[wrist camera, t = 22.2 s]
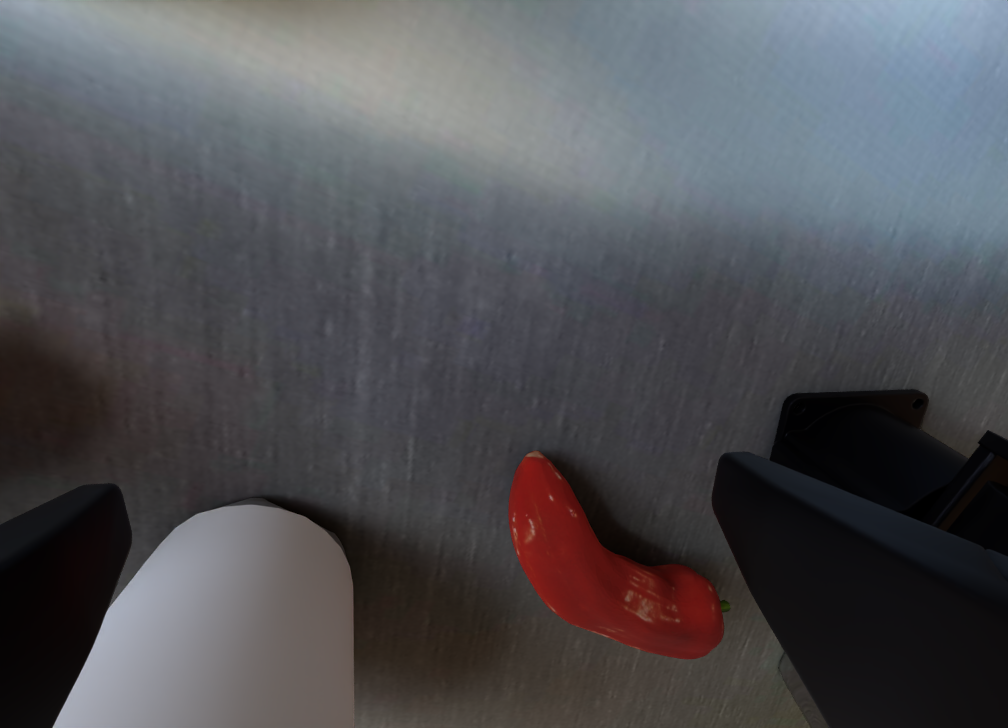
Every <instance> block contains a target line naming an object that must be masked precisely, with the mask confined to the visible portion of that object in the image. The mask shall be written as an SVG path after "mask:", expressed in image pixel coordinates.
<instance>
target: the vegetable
mask: <svg viewBox="0 0 1008 728" xmlns="http://www.w3.org/2000/svg"><path fill="white" fill-rule="evenodd" d="M509 526H510V532H511V537H512V541H513V545H514V548H515V551H516V554H517V556H518V559H519V561H520V564H521V566H522V568H523V570H524V572H525V573H526V575H527V577H528V579H529V580H530V582H531V584H532V585H533V587H534V589H535V590H536V592H537V593H538V595H539V596H540V597H541V599H542V600H543V602H544V603H545V604H546V605H547V606H548V607H549V609H551V610H552V611H553V612H554V613H556V614H557V615H558V616H560V617H561V618H562V619H564V620H565V621H567V622H568V623H570V624H572V625H575V626H577V627H580V628H583V629H586V630H589V631H592V632H594V633H597V634H600V635H603V636H605V637H608V638H611V639H613V640H616V641H619V642H621V643H623V644H626V645H628V646H631V647H634V648H637V649H640V650H643V651H646V652H650V653H655V654H659V655H664V656H668V657H674V658H680V659H696V658H700V657H703V656H705V655H707V654H708V653H709V652H710V651H711V650H712V649H714V648H715V647H716V646H717V645H718V644H719V643H720V642H721V640H722V638H723V634H724V622H723V615H722V612H727V611H729V610H730V605H729V602H727V601H725V600H722V601H720V600H719V596H718V594H717V592H716V590H715V588H714V586H713V585H712V583H711V582H710V581H709V580H708V579H706V578H705V577H703V576H701V575H699V574H697V573H696V572H695V571H694V570H692V569H691V568H689V567H687V566H684V565H680V564H666V565H659V566H650V567H649V566H645V565H642V564H639V563H637V562H635V561H633V560H631V559H630V558H627V557H625V556H622V555H618V554H614V553H613V552H611V551H609V550H607V549H606V548H605V547H603V546H602V545H601V544H600V542H599V541H598V539H597V537H596V535H595V533H594V532H593V530H592V528H591V526H590V524H589V522H588V519H587V517H586V515H585V513H584V511H583V509H582V507H581V505H580V504H579V502H578V500H577V498H576V496H575V494H574V492H573V490H572V489H571V487H570V485H569V483H568V482H567V481H566V479H565V478H564V477H563V475H562V474H561V473H560V472H559V471H558V470H557V468H556V467H555V466H554V465H553V464H552V462H551V461H550V460H548V459H547V458H546V457H545V456H544V455H543V454H542V453H541V452H540V451H532V452H530V453H528V454H526V456H525V457H524V459H523V460H522V462H521V463H520V465H519V466H518V468H517V469H516V472H515V475H514V479H513V483H512V487H511V491H510V497H509Z"/></svg>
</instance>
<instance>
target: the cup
mask: <svg viewBox="0 0 1008 728" xmlns="http://www.w3.org/2000/svg"><path fill="white" fill-rule="evenodd" d="M53 728H354V618H353V582H352V576H351V570H350V566H349V564H348V561H347V558H346V553H345V550H344V548H343V546H342V544H341V542H340V540H339V539H338V537H337V536H336V534H335V533H334V532H331V531H328V530H326V529H325V528H323V527H321V526H319V525H317V524H315V523H314V522H312V521H311V520H309V519H308V518H307V517H305V516H302V515H299V514H296V513H293V512H290V511H288V510H286V509H284V508H282V507H280V506H277V505H275V504H273V503H271V502H269V501H267V500H265V499H264V498H248V499H245V500H242V501H239V502H236V503H232V504H229V505H226V506H223V507H220V508H217V509H213V510H209V511H206V512H202V513H198V514H196V515H194V516H193V517H191V518H190V519H188V520H187V521H185V522H184V523H182V524H180V525H179V526H177V527H176V528H175V529H174V530H173V531H172V532H170V533H169V534H168V536H167V537H166V538H165V539H164V540H163V541H162V543H161V544H160V545H159V546H158V547H157V548H156V550H155V551H154V552H153V553H152V555H151V556H150V557H149V558H148V560H147V561H146V562H145V563H144V565H143V566H142V567H141V568H140V570H139V571H138V572H137V574H136V575H135V576H134V577H133V579H132V580H131V581H130V582H129V584H128V585H127V586H126V587H125V589H124V590H123V591H122V592H121V594H120V595H119V596H118V598H117V599H116V600H115V601H114V603H113V604H112V605H111V606H110V608H109V609H108V610H107V612H106V615H105V618H104V620H103V623H102V626H101V628H100V631H99V633H98V636H97V638H96V641H95V643H94V645H93V648H92V650H91V652H90V654H89V656H88V658H87V660H86V663H85V665H84V667H83V669H82V671H81V673H80V675H79V677H78V679H77V680H76V682H75V684H74V686H73V688H72V690H71V692H70V694H69V696H68V698H67V700H66V702H65V704H64V706H63V708H62V710H61V712H60V714H59V716H58V718H57V720H56V722H55V724H54V726H53Z"/></svg>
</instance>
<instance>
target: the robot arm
mask: <svg viewBox="0 0 1008 728" xmlns="http://www.w3.org/2000/svg"><path fill="white" fill-rule="evenodd" d="M915 400H916V401H915ZM914 401H915V402H914ZM913 402H914V403H913ZM928 402H929V399H928V396H927V395H926V394H924V393H922V392H920V391H918V390H914V389H911V390H882V391H853V392H824V393H796V394H792V395H790V396H789V397H787V398H786V400H785V401H784V403H783V406H782V411H781V415H780V420H779V424H778V428H777V433H776V437H775V441H774V445H773V447H772V452H771V456H770V460H767V459H765V458H762V457H760V456H757V455H755V454H752V453H750V452H728V453H724V454H723V455H722V456H721V457H720V459H719V461H718V466H717V471H716V476H715V481H714V487H713V492H712V507H713V510H714V513H715V515H716V518H717V520H718V522H719V524H720V526H721V529H722V531H723V533H724V535H725V538H726V540H727V542H728V544H729V546H730V549H731V551H732V553H733V555H734V557H735V560H736V562H737V564H738V566H739V569H740V571H741V573H742V575H743V577H744V580H745V582H746V584H747V586H748V588H749V590H750V592H751V594H752V595H753V597H754V599H755V601H756V603H757V605H758V606H759V608H760V610H761V612H762V613H763V615H764V617H765V618H766V620H767V622H768V624H769V625H770V627H771V629H772V630H773V632H774V634H775V636H776V637H777V639H778V641H779V642H780V644H781V646H782V648H783V649H784V651H785V653H786V654H787V656H788V658H789V660H790V661H791V663H792V665H793V666H794V668H795V670H796V672H797V673H798V675H799V677H800V679H801V680H802V682H803V684H804V685H805V687H806V689H807V691H808V692H809V694H810V696H811V697H812V699H813V701H814V703H815V704H816V706H817V708H818V709H819V711H820V713H821V715H822V716H823V718H824V720H825V721H826V723H827V725H828V727H829V728H1008V440H1007V439H1005V438H1003V437H1001V436H999V435H997V434H995V433H993V432H991V431H989V430H988V431H987V432H986V433H985V434H984V436H983V437H982V438H981V439H980V441H979V442H978V443H979V444H980V446H979V447H978V448H977V450H976V451H975V452H974V453H973V454H972V456H971V457H970V458H969V459H968V458H967V457H965V456H963V455H962V454H960V453H958V452H957V451H955V450H953V449H952V448H950V447H948V446H947V445H945V444H943V443H942V442H940V441H938V440H937V439H935V438H933V437H932V436H930V435H928V434H927V433H925V432H924V431H922V430H920V427H921V424H922V421H923V418H924V415H925V412H926V409H927V406H928ZM799 403H800V404H799ZM797 404H799V406H798V407H797V408H796V409H794V407H795V406H796V405H797ZM131 544H132V531H131V526H130V522H129V518H128V514H127V510H126V506H125V502H124V498H123V494H122V492H121V490H120V488H119V487H118V486H117V485H115V484H111V483H108V484H88V485H82V486H80V487H78V488H76V489H74V490H71V491H69V492H67V493H65V494H63V495H61V496H59V497H57V498H55V499H53V500H51V501H49V502H46V503H44V504H42V505H40V506H38V507H36V508H34V509H32V510H30V511H28V512H26V513H23V514H21V515H19V516H17V517H15V518H13V519H11V520H9V521H7V522H5V523H3V524H1V525H0V728H53V726H54V724H55V722H56V720H57V718H58V716H59V714H60V712H61V710H62V708H63V706H64V704H65V702H66V700H67V698H68V696H69V694H70V692H71V690H72V688H73V686H74V684H75V682H76V680H77V679H78V677H79V675H80V673H81V671H82V669H83V667H84V665H85V663H86V660H87V658H88V656H89V654H90V652H91V650H92V648H93V645H94V643H95V641H96V638H97V636H98V633H99V631H100V628H101V626H102V623H103V620H104V618H105V615H106V612H107V610H108V607H109V604H110V602H111V599H112V596H113V594H114V591H115V589H116V586H117V583H118V581H119V578H120V575H121V573H122V570H123V567H124V565H125V562H126V559H127V557H128V554H129V552H130V548H131Z"/></svg>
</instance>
